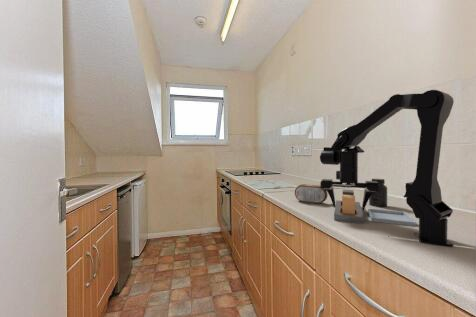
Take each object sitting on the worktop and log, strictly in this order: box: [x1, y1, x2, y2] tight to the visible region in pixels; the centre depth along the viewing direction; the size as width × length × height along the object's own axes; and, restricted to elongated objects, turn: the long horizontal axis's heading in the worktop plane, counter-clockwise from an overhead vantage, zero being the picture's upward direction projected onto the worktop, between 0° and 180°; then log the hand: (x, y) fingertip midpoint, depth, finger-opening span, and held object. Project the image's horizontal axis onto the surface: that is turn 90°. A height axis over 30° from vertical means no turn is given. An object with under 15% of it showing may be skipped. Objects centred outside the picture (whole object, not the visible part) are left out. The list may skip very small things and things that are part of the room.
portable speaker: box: [294, 183, 329, 205], centre depth 105 cm, size 15×3×8 cm, turn 58°
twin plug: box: [342, 189, 355, 195], centre depth 90 cm, size 6×4×8 cm, turn 154°
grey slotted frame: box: [333, 199, 365, 224], centre depth 85 cm, size 24×9×2 cm, turn 154°
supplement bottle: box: [368, 178, 388, 208], centre depth 96 cm, size 7×7×12 cm
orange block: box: [341, 194, 356, 214], centre depth 79 cm, size 6×4×8 cm, turn 154°
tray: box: [367, 207, 417, 227], centre depth 78 cm, size 14×12×2 cm
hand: (348, 208), depth 79 cm, fingers open, 9 cm apart
